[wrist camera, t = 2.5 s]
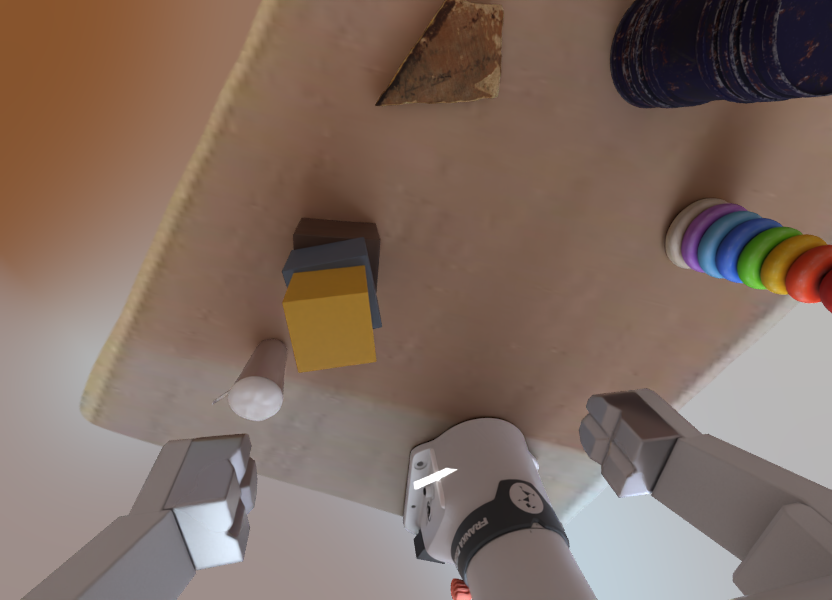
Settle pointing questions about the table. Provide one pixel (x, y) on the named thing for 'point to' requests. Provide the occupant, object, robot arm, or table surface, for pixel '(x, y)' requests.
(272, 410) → the milkshake
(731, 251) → the stacking toy
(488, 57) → the shard
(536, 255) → the table surface
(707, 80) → the storage jar
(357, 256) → the slate block
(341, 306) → the mustard block
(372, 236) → the walnut block
